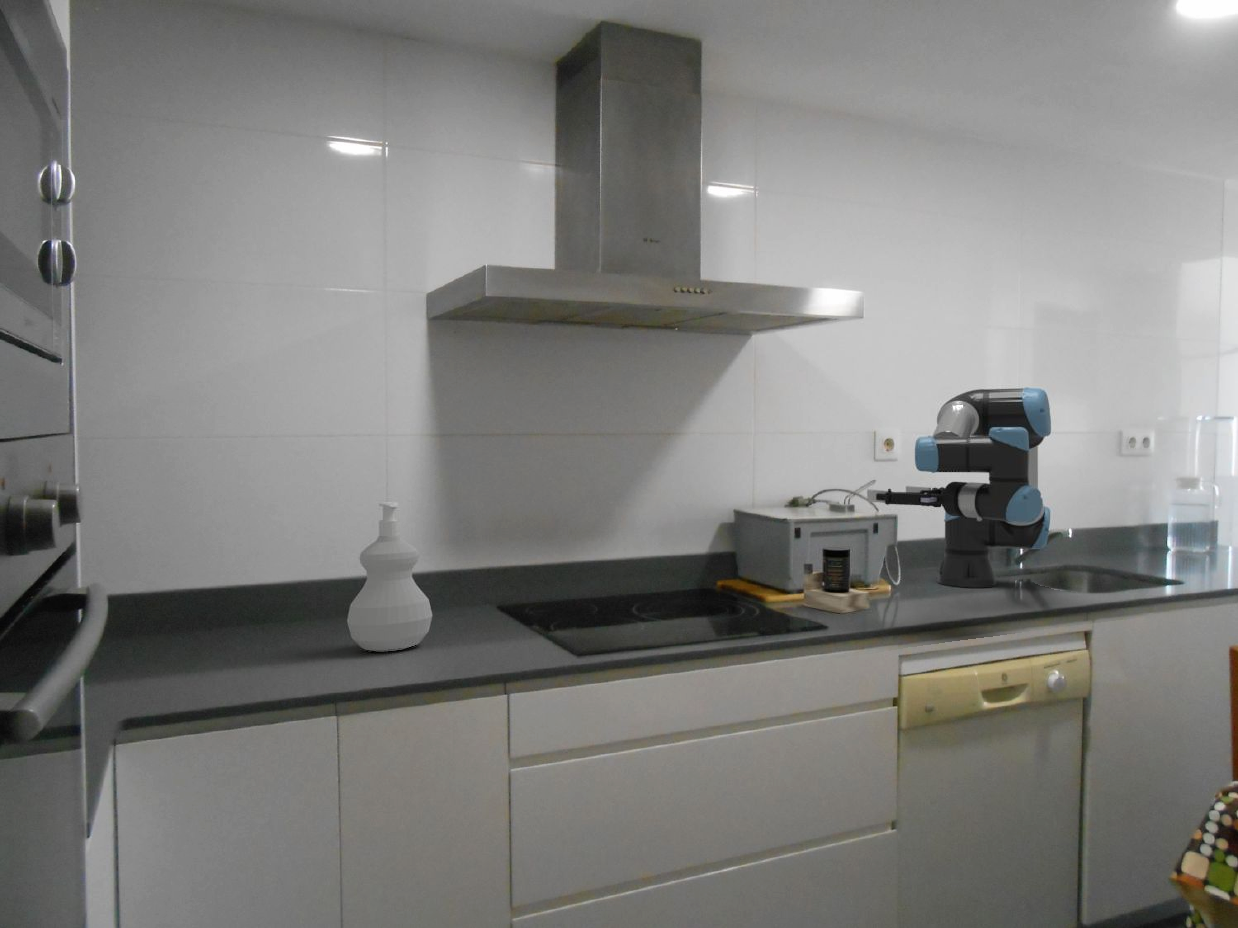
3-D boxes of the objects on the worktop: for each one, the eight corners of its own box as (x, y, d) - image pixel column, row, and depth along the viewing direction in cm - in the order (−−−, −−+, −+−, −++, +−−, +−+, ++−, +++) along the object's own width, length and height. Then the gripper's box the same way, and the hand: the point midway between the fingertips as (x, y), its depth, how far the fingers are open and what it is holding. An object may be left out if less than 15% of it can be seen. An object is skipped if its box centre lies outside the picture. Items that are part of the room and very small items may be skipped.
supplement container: (854, 593, 218) (854, 549, 218) (826, 593, 217) (826, 550, 217) (845, 588, 225) (845, 546, 224) (818, 588, 224) (818, 546, 224)
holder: (831, 601, 229) (831, 560, 229) (869, 608, 219) (869, 565, 219) (803, 605, 223) (803, 563, 223) (840, 613, 214) (841, 569, 213)
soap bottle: (355, 660, 173) (353, 506, 171) (341, 647, 183) (338, 502, 181) (440, 648, 181) (438, 502, 180) (422, 637, 191) (420, 498, 190)
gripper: (930, 521, 188) (851, 513, 205) (1001, 512, 202) (922, 505, 219) (930, 485, 187) (851, 480, 205) (1002, 479, 201) (922, 474, 219)
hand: (887, 493), depth 212 cm, fingers open, 13 cm apart
